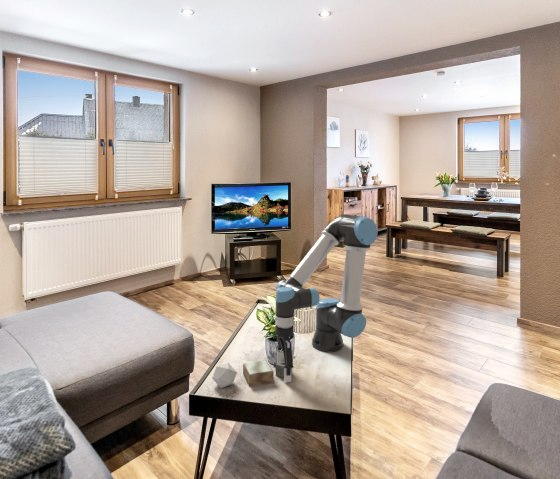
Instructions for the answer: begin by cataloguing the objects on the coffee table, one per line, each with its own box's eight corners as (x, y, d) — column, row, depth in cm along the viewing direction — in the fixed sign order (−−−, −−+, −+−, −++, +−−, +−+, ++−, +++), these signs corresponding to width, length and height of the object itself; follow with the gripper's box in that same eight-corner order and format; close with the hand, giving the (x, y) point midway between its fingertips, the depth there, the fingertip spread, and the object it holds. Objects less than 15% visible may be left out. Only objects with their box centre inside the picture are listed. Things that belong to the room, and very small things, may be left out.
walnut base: (266, 371, 169) (266, 359, 168) (273, 383, 160) (273, 370, 159) (243, 375, 166) (243, 363, 165) (249, 387, 156) (249, 374, 156)
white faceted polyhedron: (230, 378, 164) (214, 360, 162) (244, 373, 159) (229, 355, 157) (220, 394, 157) (204, 376, 155) (234, 390, 152) (218, 372, 150)
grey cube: (275, 375, 165) (275, 364, 164) (281, 370, 170) (281, 359, 169) (286, 378, 163) (286, 367, 162) (292, 373, 167) (292, 362, 166)
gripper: (269, 315, 174) (268, 360, 177) (282, 337, 150) (281, 390, 153) (286, 314, 175) (285, 359, 179) (301, 336, 152) (300, 388, 155)
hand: (283, 373), depth 166 cm, fingers open, 13 cm apart
